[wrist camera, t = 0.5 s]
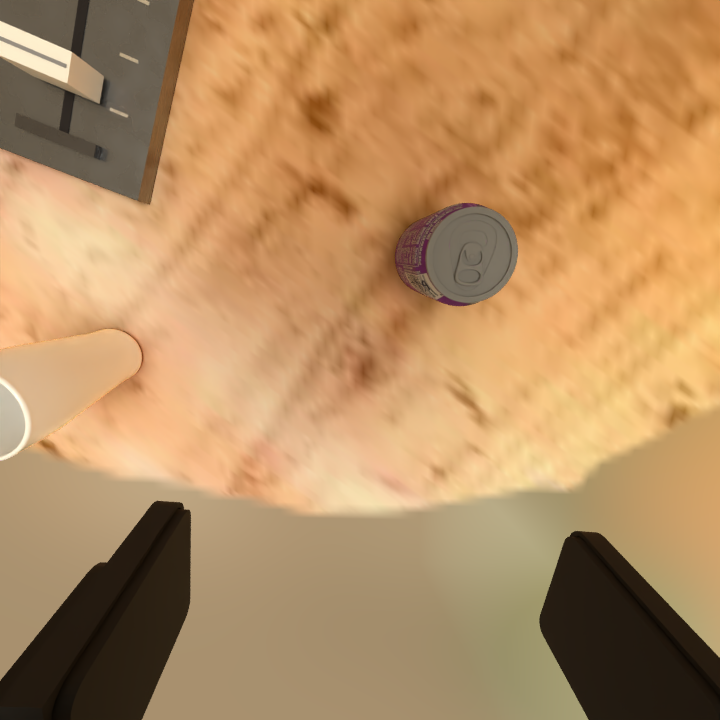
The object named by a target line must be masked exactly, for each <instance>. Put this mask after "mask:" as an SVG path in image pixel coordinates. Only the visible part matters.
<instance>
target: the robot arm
mask: <svg viewBox="0 0 720 720" xmlns="http://www.w3.org/2000/svg"><path fill="white" fill-rule="evenodd" d="M190 538H191V514H190V510H184V507H183V504H182V503H180V502H164V501H156V502H154V503H153V504H152V505H151V506H150V508H149V509H148V510H147V512H146V513H145V514H144V516H143V517H142V518H141V520H140V521H139V522H138V523H137V525H136V526H135V527H134V529H133V530H132V531H131V532H130V534H129V535H128V536H127V538H126V539H125V540H124V541H123V543H122V544H121V545H120V547H119V548H118V549H117V551H116V552H115V553H114V554H113V556H112V557H111V558H110V560H109V561H108V562H107V563H98V564H97V565H95V566H94V567H93V568H92V569H91V570H90V571H89V572H88V573H87V574H86V576H85V577H84V578H83V579H82V580H81V582H80V583H79V584H78V585H77V587H76V588H75V589H74V590H73V592H72V593H71V594H70V595H69V596H68V598H67V599H66V600H65V601H64V603H63V604H62V605H61V606H60V608H59V609H58V610H57V611H56V613H55V614H54V615H53V616H52V618H51V619H50V620H49V621H48V622H47V624H46V625H45V626H44V628H43V629H42V630H41V631H40V632H39V634H38V635H37V636H36V637H35V639H34V640H33V641H32V642H31V643H30V645H29V646H28V647H27V648H26V650H25V651H24V652H23V654H22V655H21V656H20V657H19V658H18V660H17V661H16V662H15V663H14V665H13V666H12V667H11V668H10V670H9V671H8V672H7V673H6V675H5V676H4V677H3V678H2V679H1V681H0V720H142V718H143V715H144V713H145V711H146V709H147V706H148V704H149V702H150V699H151V697H152V695H153V692H154V690H155V688H156V685H157V683H158V681H159V678H160V676H161V674H162V672H163V669H164V667H165V665H166V662H167V660H168V658H169V655H170V653H171V651H172V649H173V646H174V644H175V642H176V639H177V637H178V635H179V632H180V630H181V628H182V625H183V623H184V621H185V618H186V616H187V612H188V609H189V604H190V548H191V541H190ZM540 628H541V632H542V634H543V636H544V638H545V639H546V642H547V644H548V645H549V647H550V649H551V651H552V653H553V655H554V656H555V658H556V660H557V662H558V664H559V666H560V668H561V669H562V671H563V673H564V675H565V677H566V679H567V680H568V682H569V684H570V686H571V688H572V690H573V691H574V693H575V695H576V697H577V699H578V701H579V703H580V704H581V706H582V708H583V710H584V712H585V714H586V716H587V717H588V719H589V720H720V658H719V657H718V656H717V655H716V654H715V653H714V652H713V651H712V649H711V648H710V647H709V646H708V645H707V644H706V643H705V642H704V641H703V640H702V639H701V638H700V637H699V636H698V635H697V634H696V633H695V632H694V631H693V630H692V629H691V628H690V626H689V625H688V624H687V623H686V622H685V621H684V620H683V619H682V618H681V617H680V616H679V615H678V614H677V613H676V612H675V611H674V610H673V609H672V608H671V607H670V606H669V604H668V603H667V602H666V601H665V600H664V599H663V598H662V597H661V596H660V595H659V594H658V593H657V592H656V591H655V590H654V589H653V588H652V587H651V586H650V584H648V583H647V582H646V580H645V579H644V578H643V577H642V576H641V575H640V574H639V573H638V572H637V571H636V570H635V569H634V568H633V567H632V566H631V565H630V564H629V562H628V561H627V560H626V559H625V558H624V557H623V556H622V555H621V554H620V553H619V552H618V551H617V550H616V549H615V548H614V547H613V546H612V545H611V544H610V543H609V542H608V541H607V539H606V538H605V537H603V536H602V535H601V534H599V533H596V532H582V531H575V532H573V533H571V535H570V537H567V538H566V539H565V542H564V544H563V547H562V550H561V554H560V557H559V560H558V563H557V566H556V569H555V572H554V575H553V578H552V581H551V584H550V587H549V590H548V593H547V596H546V599H545V603H544V606H543V608H542V611H541V614H540Z"/></svg>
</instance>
